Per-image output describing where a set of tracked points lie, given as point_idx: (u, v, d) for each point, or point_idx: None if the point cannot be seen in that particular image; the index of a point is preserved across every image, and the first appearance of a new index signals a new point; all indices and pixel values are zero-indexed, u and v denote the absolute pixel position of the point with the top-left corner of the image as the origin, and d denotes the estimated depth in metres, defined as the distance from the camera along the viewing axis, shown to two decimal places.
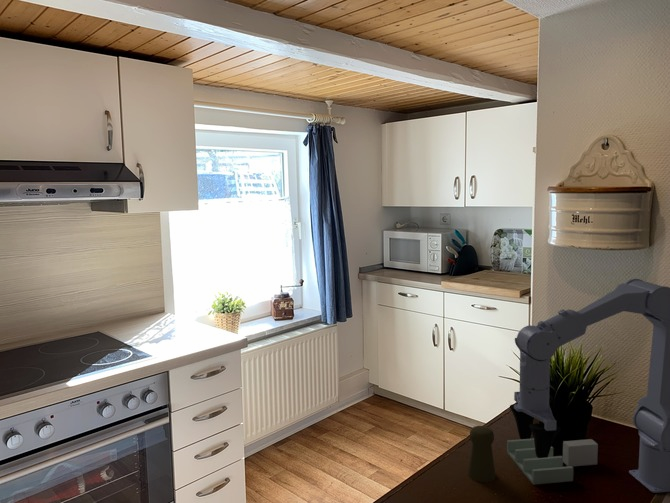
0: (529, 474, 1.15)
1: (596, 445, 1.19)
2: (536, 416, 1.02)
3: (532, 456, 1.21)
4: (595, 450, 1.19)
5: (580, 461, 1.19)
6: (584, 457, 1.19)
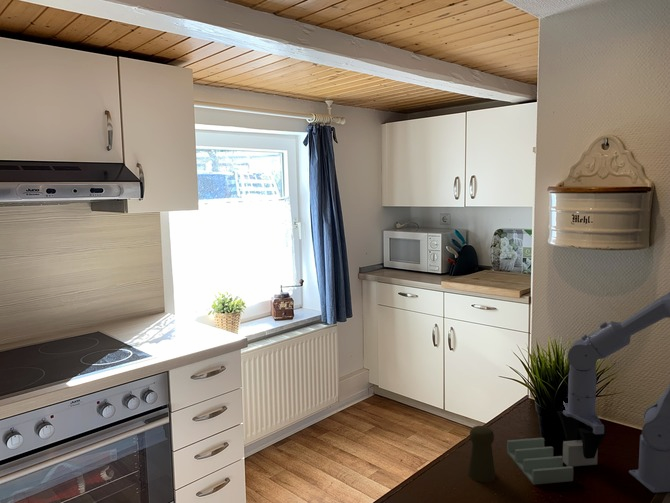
0: (529, 474, 1.15)
1: None
2: (585, 421, 1.14)
3: (532, 456, 1.21)
4: None
5: (580, 461, 1.19)
6: (584, 457, 1.19)
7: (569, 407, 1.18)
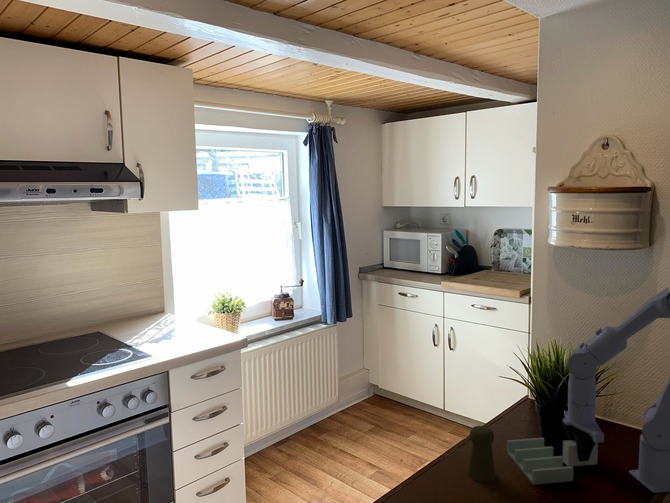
0: (529, 474, 1.15)
1: (596, 445, 1.19)
2: (585, 429, 1.14)
3: (532, 456, 1.21)
4: (595, 450, 1.19)
5: (580, 461, 1.19)
6: None
7: (569, 415, 1.18)
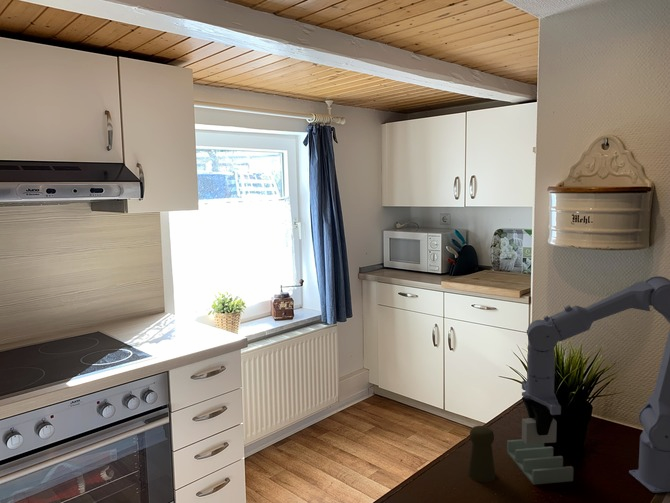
0: (529, 474, 1.15)
1: (555, 422, 1.17)
2: (542, 402, 1.13)
3: (532, 456, 1.21)
4: (554, 427, 1.17)
5: (539, 438, 1.17)
6: None
7: (528, 389, 1.17)
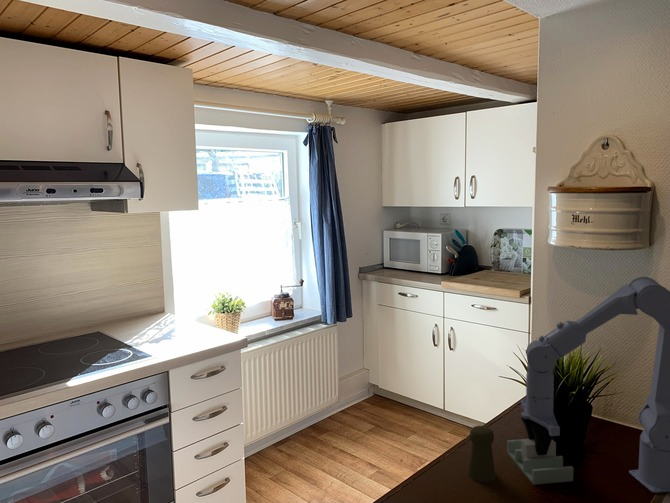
0: (529, 474, 1.15)
1: (554, 444, 1.18)
2: (541, 423, 1.13)
3: None
4: (553, 449, 1.18)
5: None
6: (542, 456, 1.18)
7: (527, 409, 1.17)
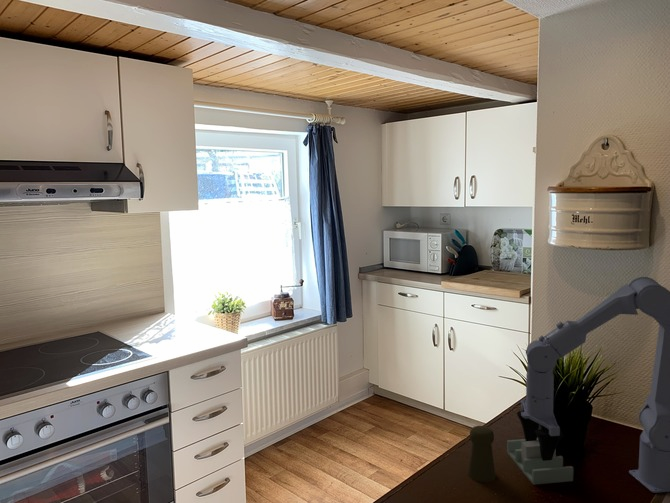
0: (529, 474, 1.15)
1: None
2: (541, 423, 1.13)
3: None
4: None
5: None
6: None
7: (527, 409, 1.17)
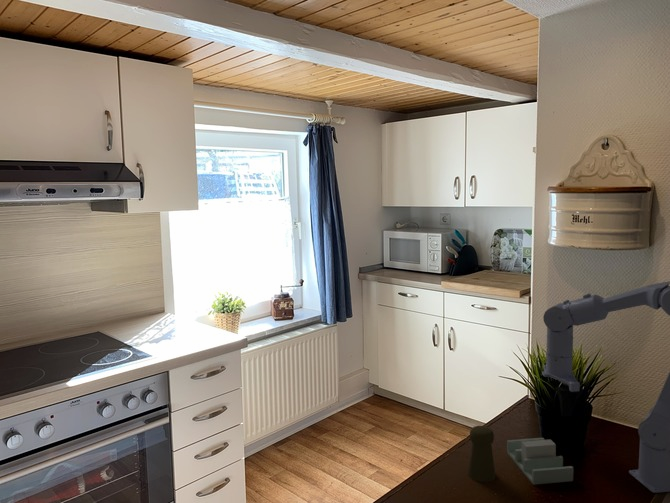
0: (529, 474, 1.15)
1: (554, 445, 1.18)
2: (562, 380, 1.19)
3: None
4: (553, 450, 1.18)
5: None
6: None
7: (547, 368, 1.24)
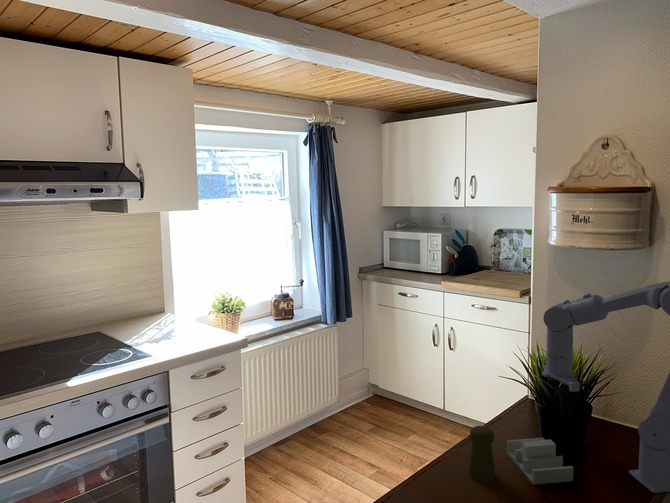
0: (529, 474, 1.15)
1: (554, 445, 1.18)
2: (562, 380, 1.19)
3: None
4: (553, 450, 1.18)
5: None
6: None
7: (547, 368, 1.24)
